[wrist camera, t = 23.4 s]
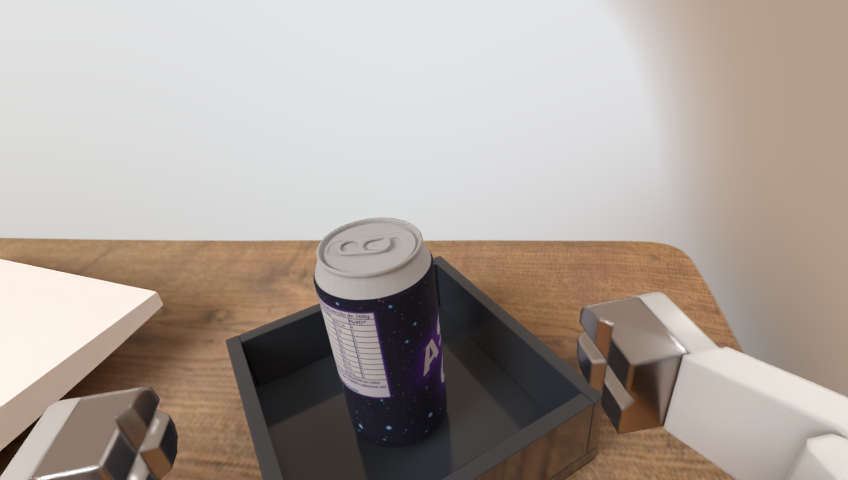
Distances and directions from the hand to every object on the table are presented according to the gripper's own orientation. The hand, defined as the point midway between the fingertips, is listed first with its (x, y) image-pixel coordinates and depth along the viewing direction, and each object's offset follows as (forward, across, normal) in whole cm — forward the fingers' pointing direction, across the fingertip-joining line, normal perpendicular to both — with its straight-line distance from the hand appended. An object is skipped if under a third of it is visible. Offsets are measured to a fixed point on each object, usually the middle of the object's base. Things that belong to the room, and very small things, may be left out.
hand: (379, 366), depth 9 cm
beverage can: (+12, 0, +16) cm, 20 cm away
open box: (+12, 0, +17) cm, 21 cm away
